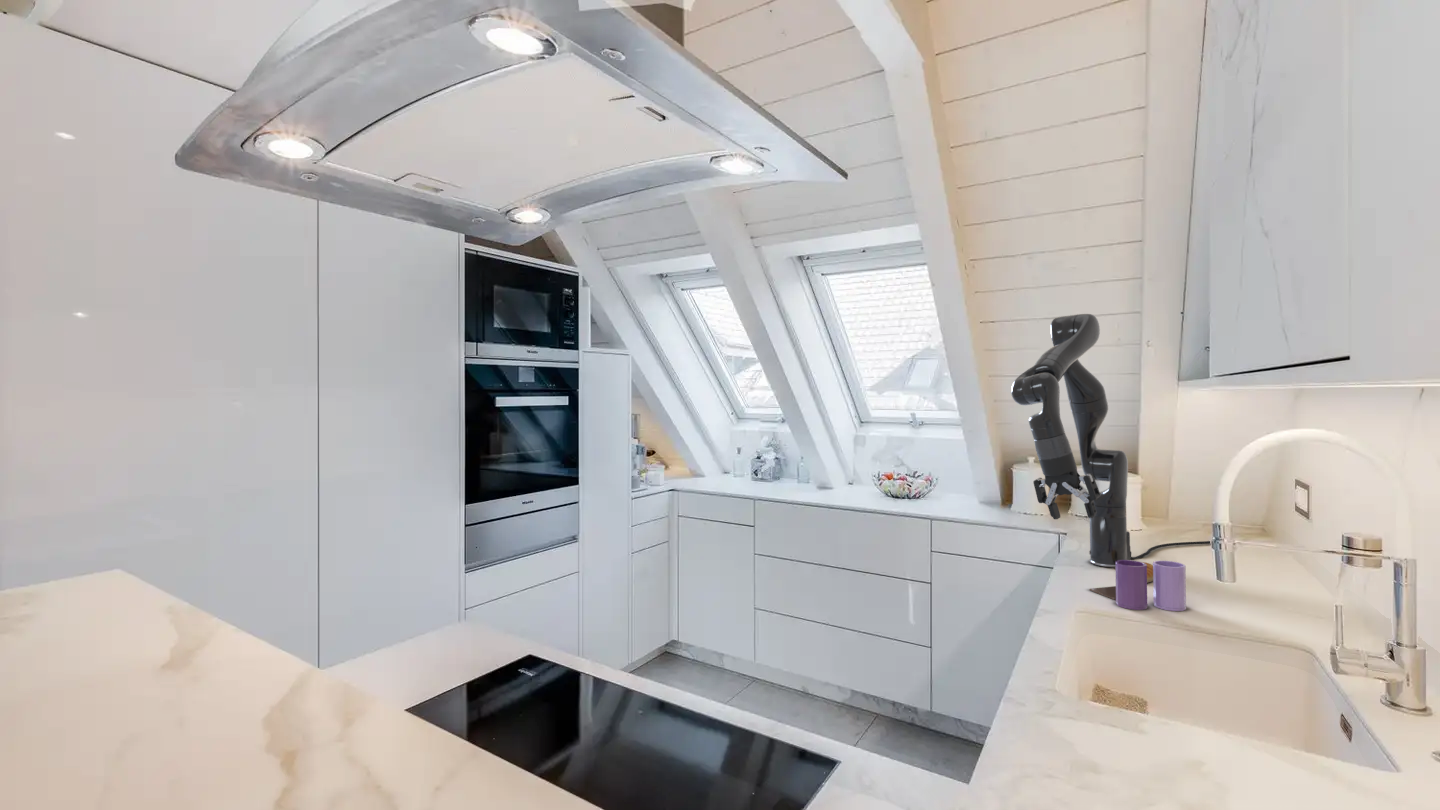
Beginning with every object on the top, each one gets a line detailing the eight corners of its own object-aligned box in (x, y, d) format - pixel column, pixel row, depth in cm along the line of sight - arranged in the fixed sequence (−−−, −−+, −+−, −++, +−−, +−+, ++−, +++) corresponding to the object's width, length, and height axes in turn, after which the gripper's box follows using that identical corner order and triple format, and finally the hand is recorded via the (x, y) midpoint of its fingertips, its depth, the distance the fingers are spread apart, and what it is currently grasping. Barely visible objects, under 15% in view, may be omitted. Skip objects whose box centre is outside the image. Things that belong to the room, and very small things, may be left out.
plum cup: (1131, 600, 156) (1131, 559, 156) (1154, 608, 150) (1153, 565, 150) (1109, 602, 155) (1109, 560, 155) (1131, 611, 149) (1130, 567, 149)
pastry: (1154, 585, 167) (1153, 570, 167) (1123, 581, 171) (1123, 567, 171) (1159, 577, 174) (1159, 563, 174) (1129, 573, 179) (1129, 559, 179)
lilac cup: (1169, 601, 155) (1168, 559, 155) (1192, 609, 149) (1192, 566, 149) (1147, 603, 154) (1146, 561, 153) (1170, 612, 147) (1169, 568, 147)
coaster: (1116, 587, 166) (1116, 586, 166) (1142, 597, 158) (1142, 595, 158) (1089, 590, 165) (1089, 588, 165) (1114, 599, 157) (1114, 598, 157)
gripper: (1091, 446, 154) (1111, 511, 154) (1034, 453, 166) (1053, 514, 166) (1076, 454, 150) (1097, 522, 150) (1019, 461, 162) (1038, 523, 162)
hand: (1074, 517), depth 158 cm, fingers open, 8 cm apart
